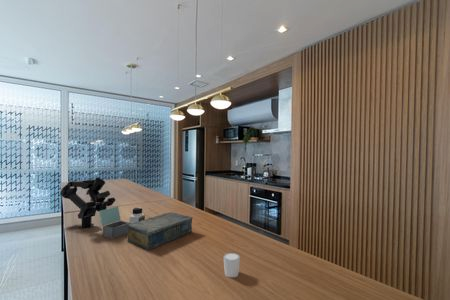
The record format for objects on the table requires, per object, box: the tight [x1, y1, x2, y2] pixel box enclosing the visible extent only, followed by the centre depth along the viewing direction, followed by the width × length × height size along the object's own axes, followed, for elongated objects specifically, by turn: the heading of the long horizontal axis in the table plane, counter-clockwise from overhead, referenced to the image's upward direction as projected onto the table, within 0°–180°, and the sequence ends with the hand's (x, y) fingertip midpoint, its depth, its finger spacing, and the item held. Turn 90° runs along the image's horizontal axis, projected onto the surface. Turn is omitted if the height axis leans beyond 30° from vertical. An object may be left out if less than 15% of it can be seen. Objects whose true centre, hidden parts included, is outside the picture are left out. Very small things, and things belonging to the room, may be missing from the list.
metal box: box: [126, 211, 193, 251], centre depth 128 cm, size 21×32×10 cm, turn 145°
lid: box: [98, 206, 122, 227], centre depth 134 cm, size 9×12×1 cm
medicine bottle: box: [129, 207, 146, 223], centre depth 147 cm, size 7×7×12 cm
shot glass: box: [223, 252, 241, 278], centre depth 89 cm, size 7×7×7 cm
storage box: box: [102, 220, 131, 240], centre depth 131 cm, size 9×12×6 cm
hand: (105, 214), depth 136 cm, fingers closed
